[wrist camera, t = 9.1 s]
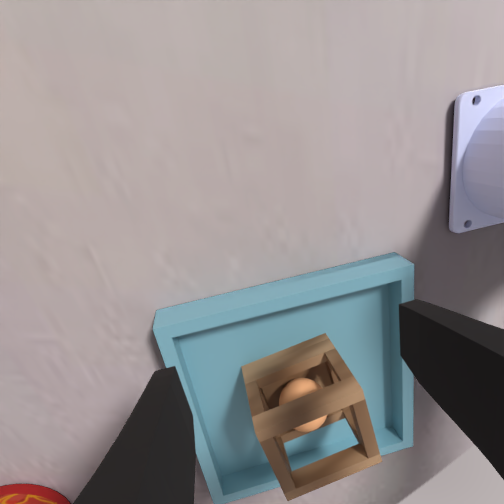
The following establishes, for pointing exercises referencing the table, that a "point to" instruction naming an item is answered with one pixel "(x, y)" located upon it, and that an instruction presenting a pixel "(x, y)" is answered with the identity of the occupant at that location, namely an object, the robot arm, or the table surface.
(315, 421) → the ball
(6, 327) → the table surface
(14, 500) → the canned food
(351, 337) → the tray
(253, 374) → the wooden cage puzzle
